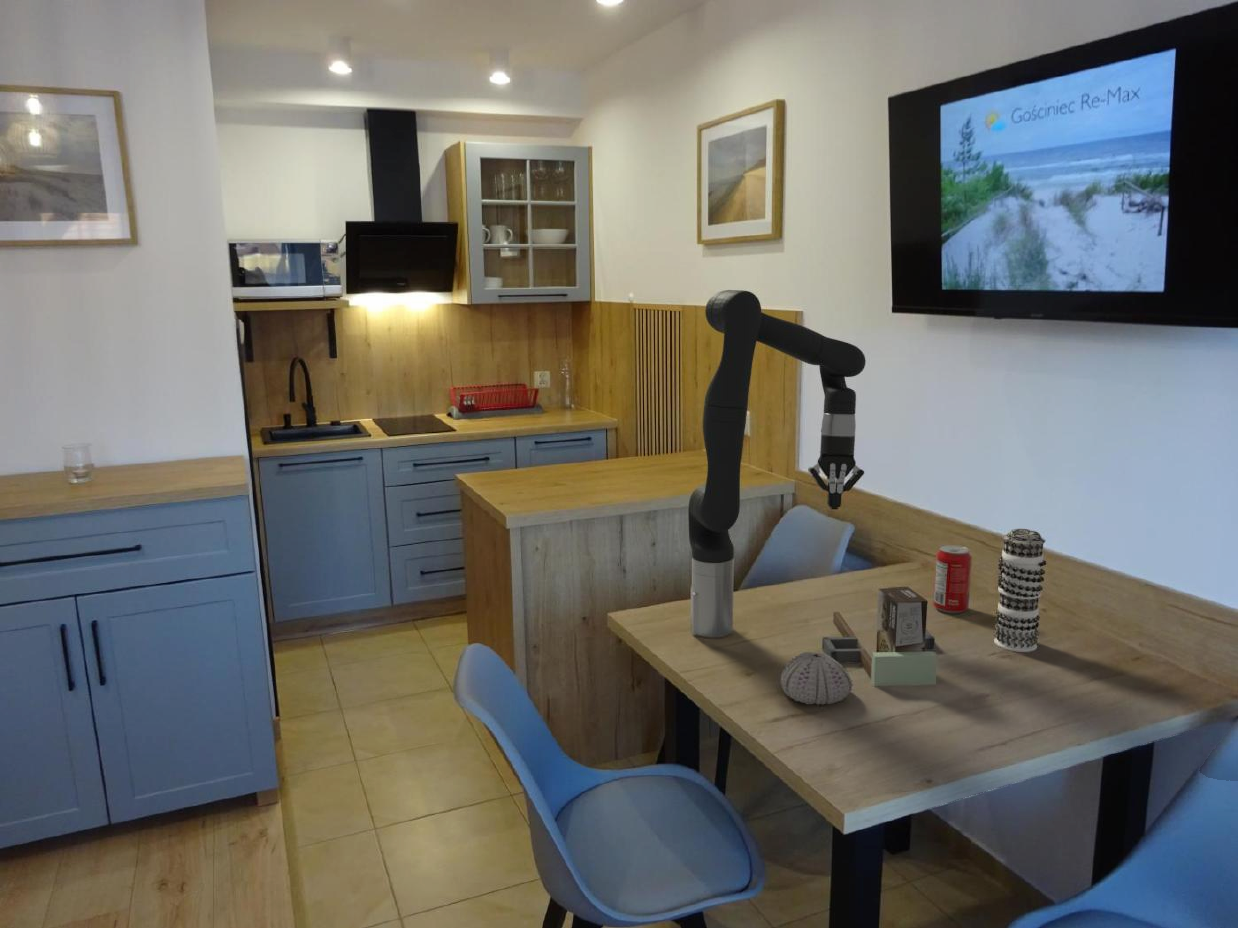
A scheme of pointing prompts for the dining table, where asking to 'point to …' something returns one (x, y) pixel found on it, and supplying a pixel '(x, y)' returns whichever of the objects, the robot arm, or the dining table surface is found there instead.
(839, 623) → the walnut lane
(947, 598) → the soda can
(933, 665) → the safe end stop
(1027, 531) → the white grey tall cylinder
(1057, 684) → the dining table surface
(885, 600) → the coffee box
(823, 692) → the sea urchin shell
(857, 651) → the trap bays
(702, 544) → the robot arm
